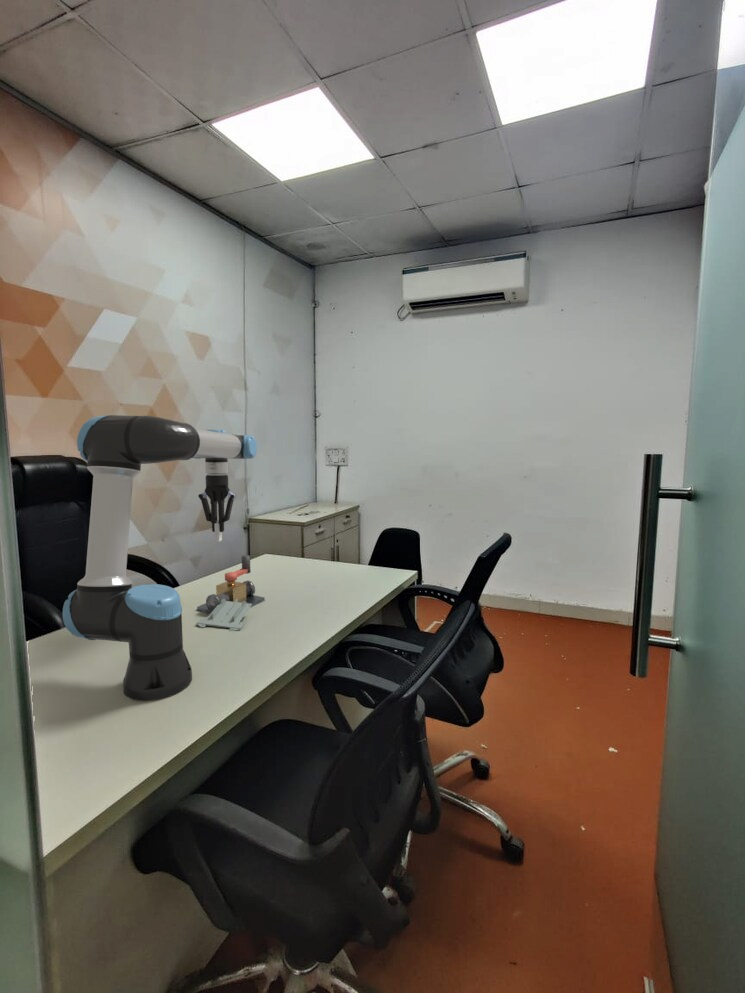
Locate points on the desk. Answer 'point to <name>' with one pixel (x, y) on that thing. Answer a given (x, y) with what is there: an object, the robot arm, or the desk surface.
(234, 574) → the lever
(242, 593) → the valve
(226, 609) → the metal bracket
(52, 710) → the desk surface
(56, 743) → the desk surface
